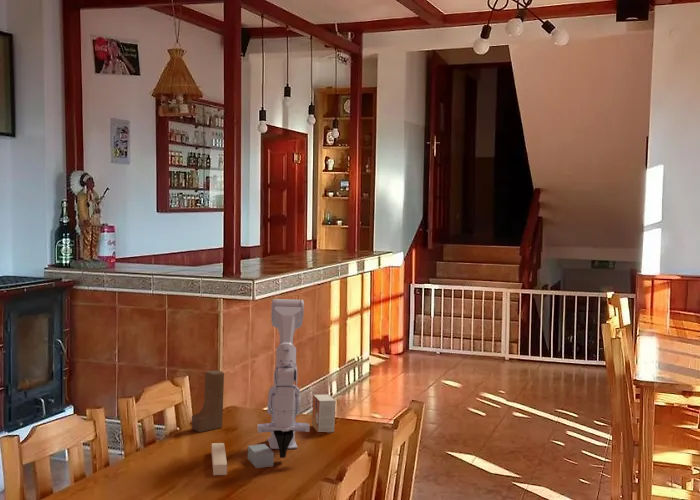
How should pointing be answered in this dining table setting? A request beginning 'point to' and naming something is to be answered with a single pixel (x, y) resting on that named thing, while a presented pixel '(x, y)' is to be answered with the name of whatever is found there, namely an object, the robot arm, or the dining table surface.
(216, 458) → the beige rectangular bar
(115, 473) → the dining table surface
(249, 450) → the block
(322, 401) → the small box
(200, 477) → the dining table surface
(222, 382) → the wooden block
